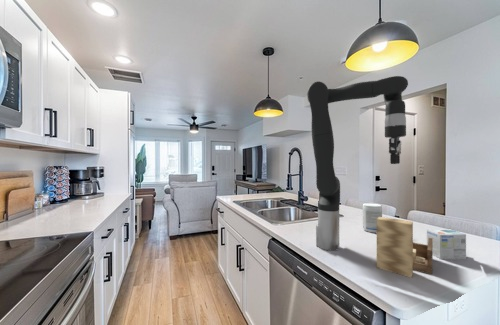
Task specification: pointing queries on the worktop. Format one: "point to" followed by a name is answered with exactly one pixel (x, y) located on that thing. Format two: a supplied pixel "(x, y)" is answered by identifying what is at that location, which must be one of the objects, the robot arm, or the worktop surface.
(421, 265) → the rack
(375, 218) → the supplement tub
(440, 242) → the light bulb box
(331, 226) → the robot arm
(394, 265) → the oak board
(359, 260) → the worktop surface
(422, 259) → the pine offcut bottom
